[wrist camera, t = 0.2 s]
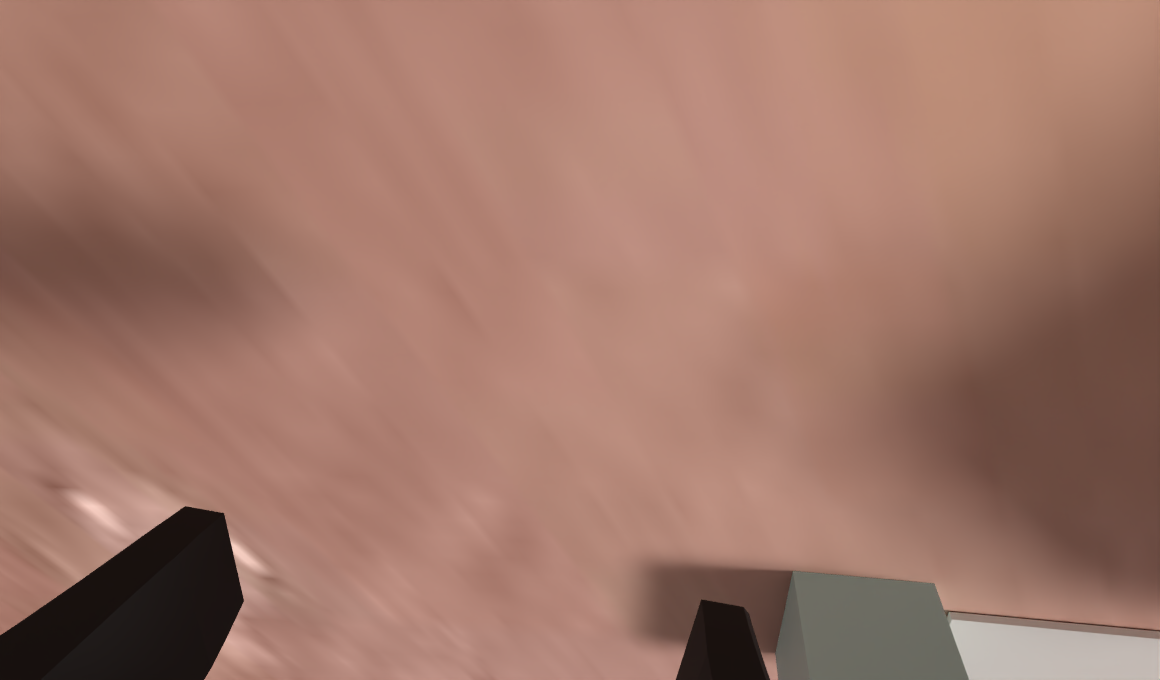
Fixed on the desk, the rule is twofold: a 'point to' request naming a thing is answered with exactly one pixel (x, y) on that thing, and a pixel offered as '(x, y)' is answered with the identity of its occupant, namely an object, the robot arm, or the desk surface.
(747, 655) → the robot arm
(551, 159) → the desk surface
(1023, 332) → the desk surface
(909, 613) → the block
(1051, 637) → the mat
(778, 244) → the desk surface
